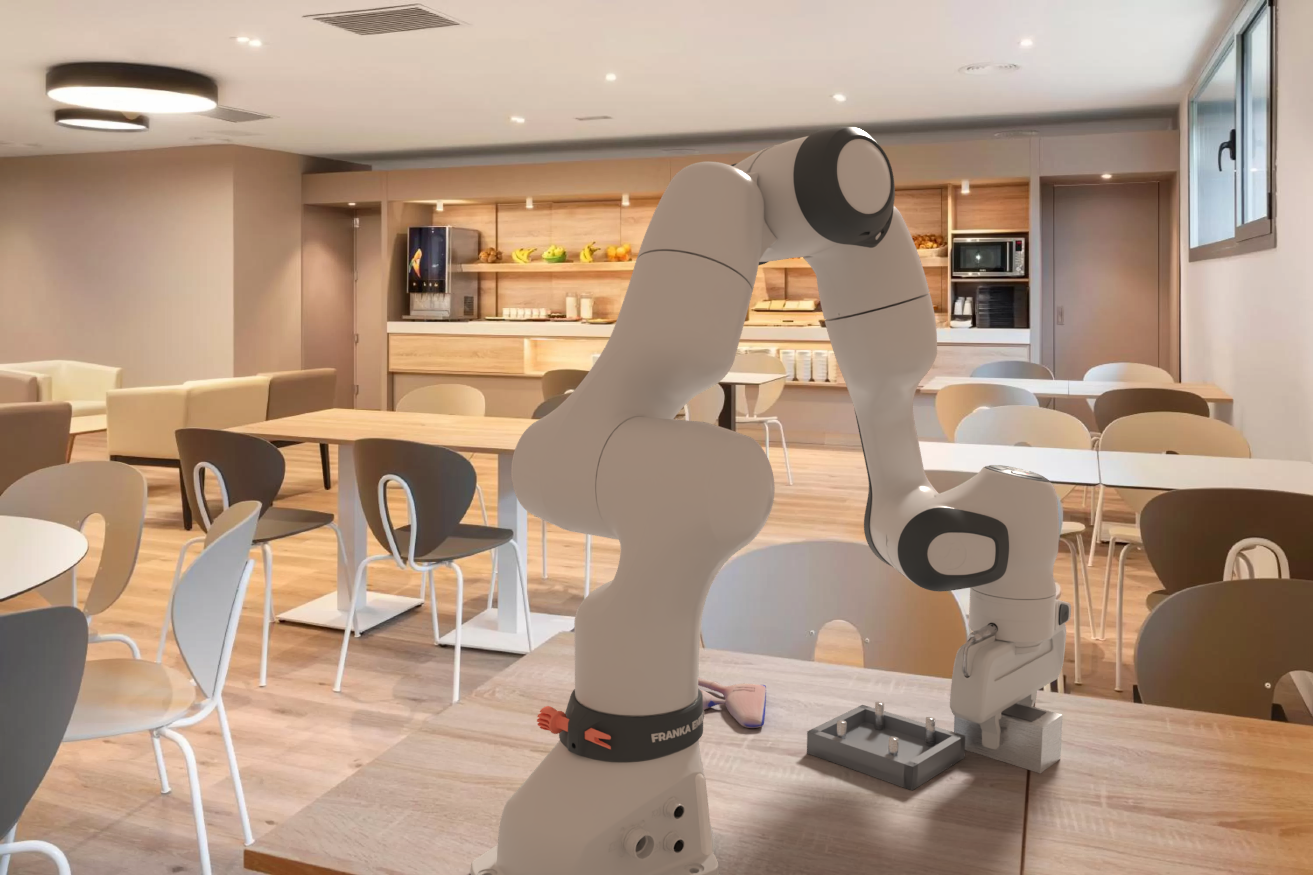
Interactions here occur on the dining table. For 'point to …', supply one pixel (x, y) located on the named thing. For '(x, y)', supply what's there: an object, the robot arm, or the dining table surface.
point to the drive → (1019, 737)
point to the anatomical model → (738, 701)
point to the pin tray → (887, 745)
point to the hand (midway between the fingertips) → (1006, 737)
